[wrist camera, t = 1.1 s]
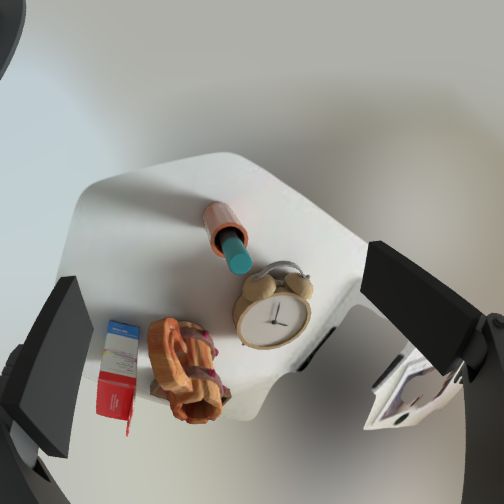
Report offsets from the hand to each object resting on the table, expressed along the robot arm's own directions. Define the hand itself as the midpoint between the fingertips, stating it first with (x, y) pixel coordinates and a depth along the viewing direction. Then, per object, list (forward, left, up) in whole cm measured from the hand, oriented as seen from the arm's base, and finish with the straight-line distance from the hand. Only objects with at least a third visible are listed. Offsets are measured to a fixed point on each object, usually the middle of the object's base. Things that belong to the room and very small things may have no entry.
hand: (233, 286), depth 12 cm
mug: (+14, -15, -24) cm, 32 cm away
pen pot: (+5, -1, -24) cm, 25 cm away
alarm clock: (+20, -3, -24) cm, 32 cm away
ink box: (+11, -25, -24) cm, 36 cm away
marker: (+5, -1, -24) cm, 24 cm away
